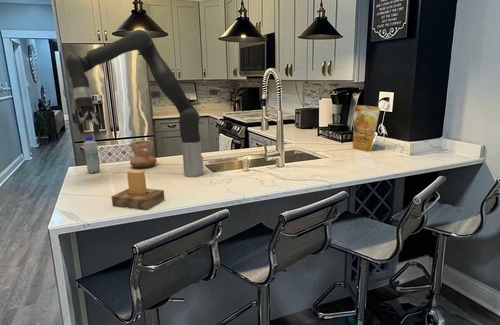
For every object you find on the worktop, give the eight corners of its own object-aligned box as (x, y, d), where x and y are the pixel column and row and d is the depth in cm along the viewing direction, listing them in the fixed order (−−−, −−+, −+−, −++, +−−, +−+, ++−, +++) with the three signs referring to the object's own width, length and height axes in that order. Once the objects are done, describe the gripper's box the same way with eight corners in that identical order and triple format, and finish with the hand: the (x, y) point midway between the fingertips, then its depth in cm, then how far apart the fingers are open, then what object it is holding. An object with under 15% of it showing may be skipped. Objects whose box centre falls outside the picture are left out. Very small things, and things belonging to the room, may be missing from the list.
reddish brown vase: (160, 167, 195) (158, 142, 192) (134, 171, 188) (131, 145, 185) (152, 162, 210) (150, 138, 207) (127, 165, 203) (124, 141, 200)
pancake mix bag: (355, 146, 237) (357, 104, 230) (378, 151, 221) (381, 106, 214) (348, 147, 233) (350, 105, 227) (371, 152, 217) (373, 107, 211)
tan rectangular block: (130, 203, 140) (126, 172, 137) (135, 200, 143) (131, 170, 140) (143, 204, 138) (139, 173, 135) (147, 202, 141) (144, 171, 138)
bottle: (90, 171, 192) (84, 135, 187) (102, 170, 192) (97, 134, 187) (85, 174, 185) (80, 137, 180) (98, 173, 186) (93, 136, 181)
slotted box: (112, 205, 138) (111, 196, 137) (132, 196, 149) (131, 187, 148) (146, 210, 132) (145, 200, 131) (164, 199, 143) (163, 190, 142)
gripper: (76, 94, 154) (83, 130, 153) (101, 98, 167) (107, 131, 166) (64, 98, 156) (70, 134, 156) (89, 102, 170) (95, 135, 169)
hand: (89, 132), depth 161 cm, fingers open, 8 cm apart
